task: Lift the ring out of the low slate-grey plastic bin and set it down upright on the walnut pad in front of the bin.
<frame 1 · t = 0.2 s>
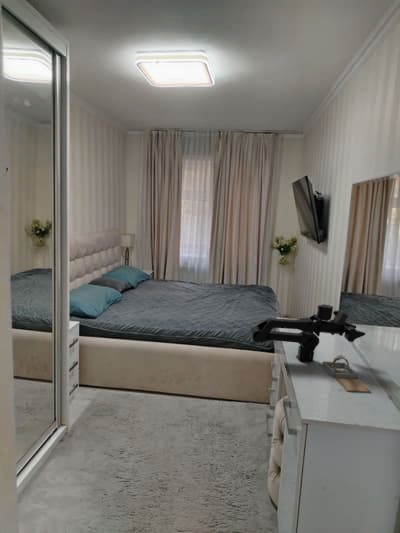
hand: (360, 330, 176), 16 cm above the table, tool horizontal, fingers open, 9 cm apart
bin: (339, 372, 166), on the table
pad: (352, 386, 153), on the table
ring: (339, 372, 166), resting in bin
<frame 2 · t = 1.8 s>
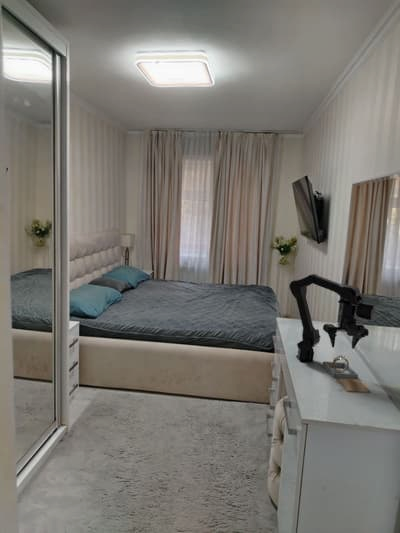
hand: (342, 347, 164), 11 cm above the table, tool pointing down, fingers open, 9 cm apart
nothing on the table moved.
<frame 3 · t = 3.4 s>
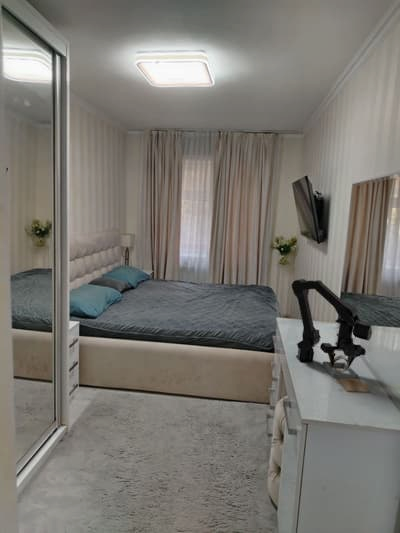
hand: (340, 366, 166), 3 cm above the table, tool pointing down, fingers closed on ring, 7 cm apart
ring: (339, 372, 166), resting in bin, touching gripper
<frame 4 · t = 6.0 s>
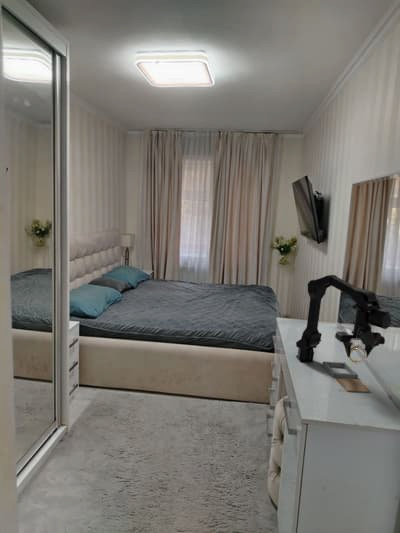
hand: (357, 357, 152), 12 cm above the table, tool pointing down, fingers closed on ring, 7 cm apart
ring: (356, 363, 153), point 10 cm above the table, touching gripper
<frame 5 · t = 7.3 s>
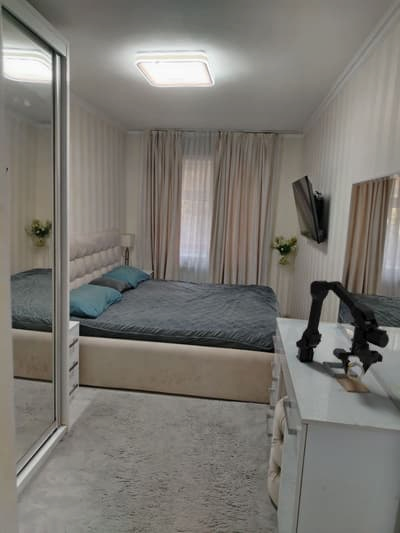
hand: (354, 374, 153), 5 cm above the table, tool pointing down, fingers closed on ring, 7 cm apart
ring: (353, 380, 153), point 2 cm above the table, touching gripper
when the fingers open (4 cm above the table, at t = 8.5 s): ring stays where it is, resting on pad.
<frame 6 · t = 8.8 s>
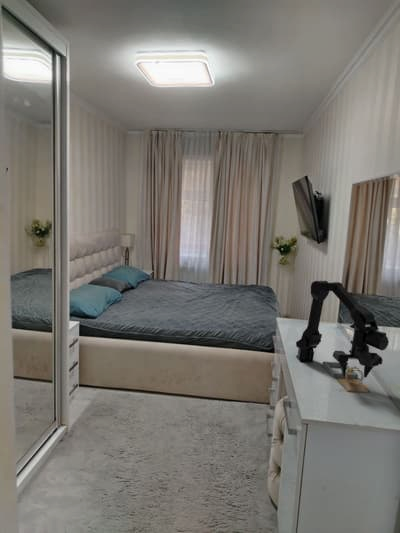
hand: (354, 376, 153), 4 cm above the table, tool pointing down, fingers open, 9 cm apart
ring: (352, 384, 153), resting on pad
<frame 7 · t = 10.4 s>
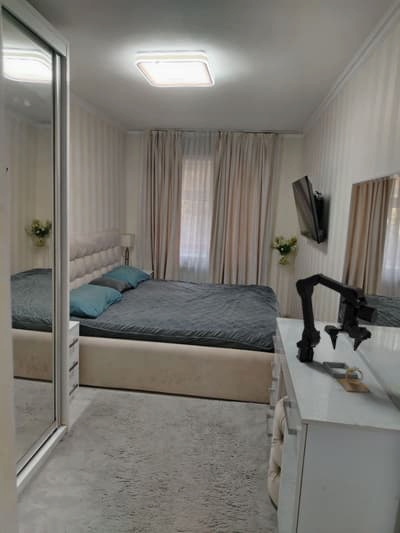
hand: (344, 350, 160), 12 cm above the table, tool pointing down, fingers open, 9 cm apart
nothing on the table moved.
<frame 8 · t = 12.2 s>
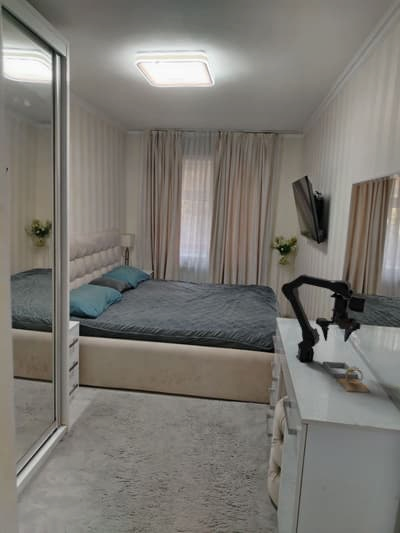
hand: (335, 341, 168), 13 cm above the table, tool pointing down, fingers open, 9 cm apart
nothing on the table moved.
at the end: ring inside the target area on the pad (0.1 cm from its centre), point 0.4 cm above the pad's base; ring tilted 0°; the gripper is holding nothing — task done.
